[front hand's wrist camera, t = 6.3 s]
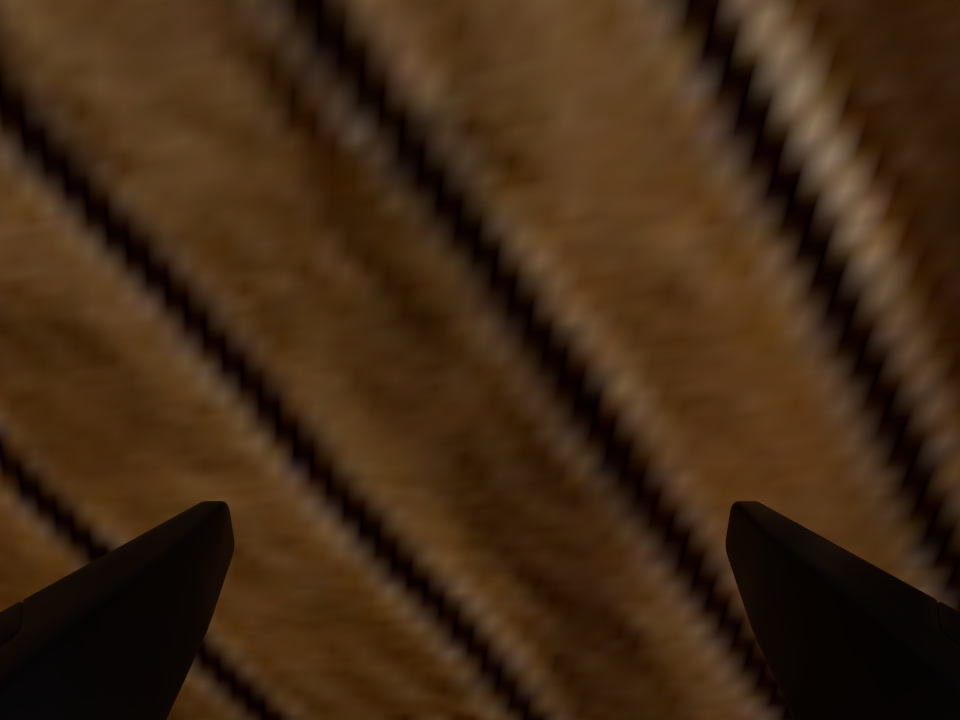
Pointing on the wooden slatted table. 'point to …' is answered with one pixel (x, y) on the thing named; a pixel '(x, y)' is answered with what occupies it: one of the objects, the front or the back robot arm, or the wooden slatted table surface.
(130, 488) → the wooden slatted table surface
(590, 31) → the wooden slatted table surface
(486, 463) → the wooden slatted table surface
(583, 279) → the wooden slatted table surface
